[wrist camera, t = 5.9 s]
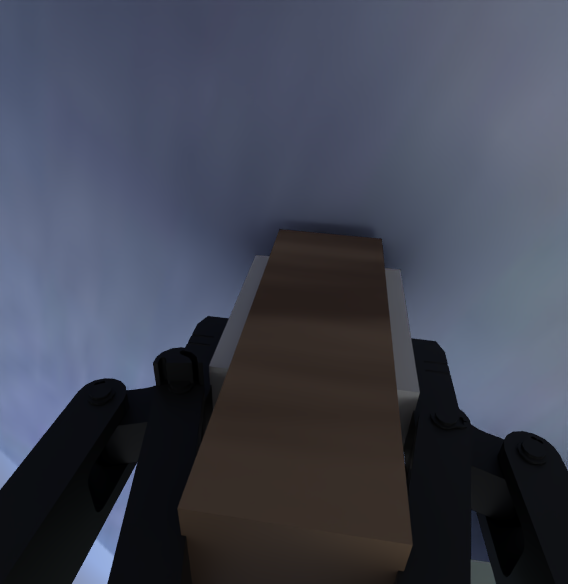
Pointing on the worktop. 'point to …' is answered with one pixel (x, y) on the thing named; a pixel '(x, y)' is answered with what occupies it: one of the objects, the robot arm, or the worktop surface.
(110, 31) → the worktop surface
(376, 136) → the worktop surface
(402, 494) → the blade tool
